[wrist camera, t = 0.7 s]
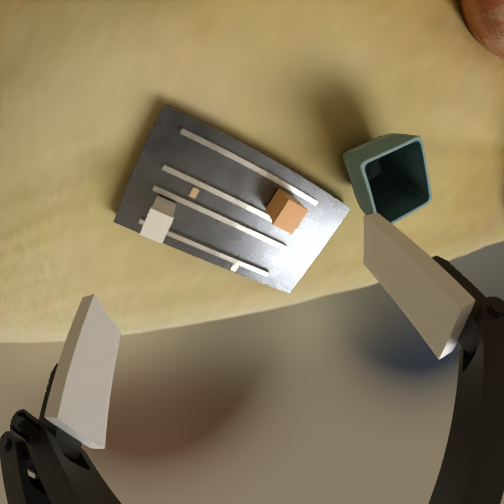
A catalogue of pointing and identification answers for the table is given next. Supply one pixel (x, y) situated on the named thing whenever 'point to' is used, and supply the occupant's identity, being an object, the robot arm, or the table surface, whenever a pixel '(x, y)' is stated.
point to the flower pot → (389, 175)
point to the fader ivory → (158, 220)
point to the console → (227, 201)
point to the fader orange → (286, 211)
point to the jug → (485, 23)
